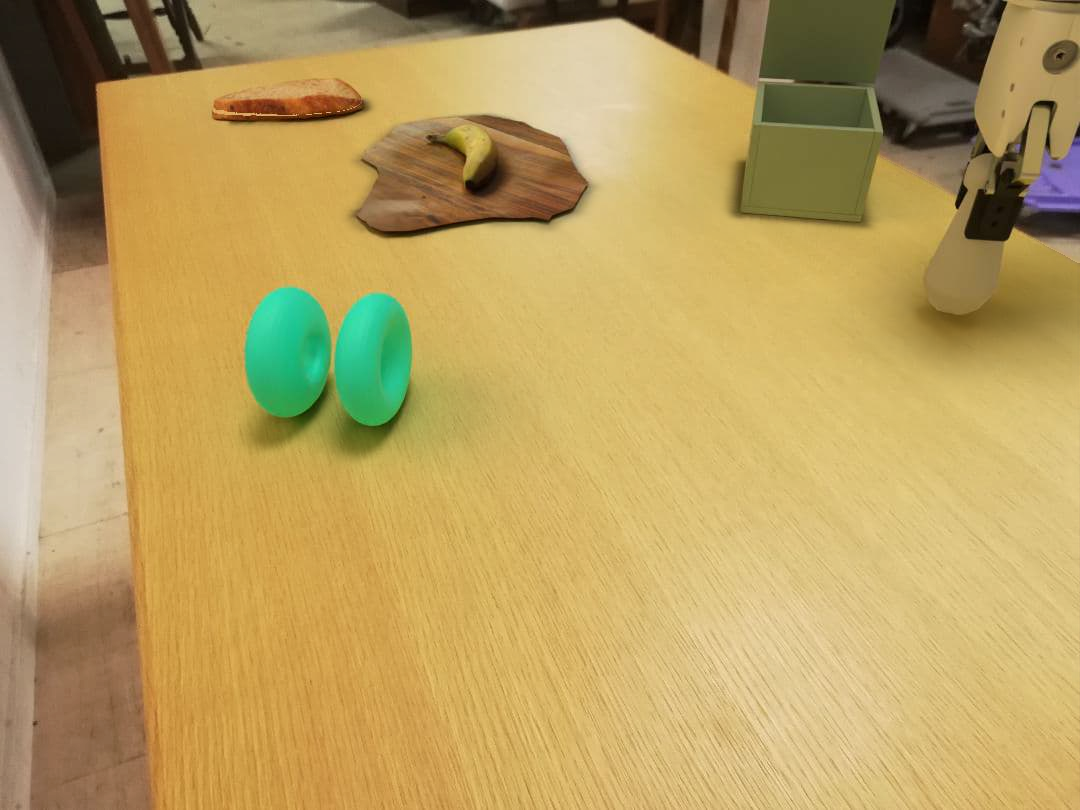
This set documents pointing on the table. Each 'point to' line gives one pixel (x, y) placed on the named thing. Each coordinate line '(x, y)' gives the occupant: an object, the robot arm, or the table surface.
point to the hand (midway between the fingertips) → (980, 221)
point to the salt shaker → (965, 254)
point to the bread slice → (291, 100)
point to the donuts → (328, 355)
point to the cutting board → (468, 173)
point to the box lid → (825, 39)
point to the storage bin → (811, 150)
